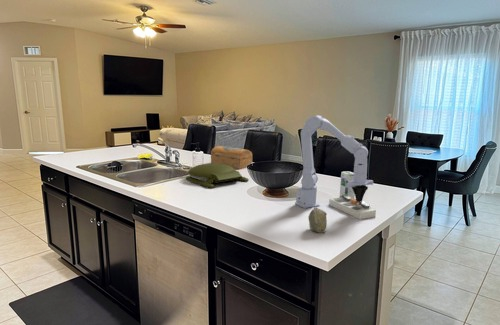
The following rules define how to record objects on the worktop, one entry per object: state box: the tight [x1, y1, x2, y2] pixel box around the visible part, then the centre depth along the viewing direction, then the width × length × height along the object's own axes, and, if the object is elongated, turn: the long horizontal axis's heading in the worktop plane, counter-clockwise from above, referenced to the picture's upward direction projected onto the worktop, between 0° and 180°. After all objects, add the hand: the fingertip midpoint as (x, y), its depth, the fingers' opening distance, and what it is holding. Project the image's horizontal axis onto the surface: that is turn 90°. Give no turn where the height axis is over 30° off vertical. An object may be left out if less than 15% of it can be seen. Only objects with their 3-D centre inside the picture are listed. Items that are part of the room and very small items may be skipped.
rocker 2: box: [359, 200, 371, 208], centre depth 158 cm, size 3×4×1 cm, turn 24°
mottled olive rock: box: [308, 206, 328, 233], centre depth 138 cm, size 9×8×10 cm
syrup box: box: [338, 170, 356, 199], centre depth 180 cm, size 6×6×14 cm
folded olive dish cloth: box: [185, 162, 250, 189], centre depth 220 cm, size 35×31×10 cm
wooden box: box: [210, 145, 253, 170], centre depth 264 cm, size 30×16×14 cm, turn 50°
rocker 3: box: [342, 194, 352, 201], centre depth 169 cm, size 3×4×1 cm, turn 25°
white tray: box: [328, 196, 377, 220], centre depth 163 cm, size 9×22×3 cm, turn 24°
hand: (359, 200), depth 161 cm, fingers closed, pressing on rocker 1
